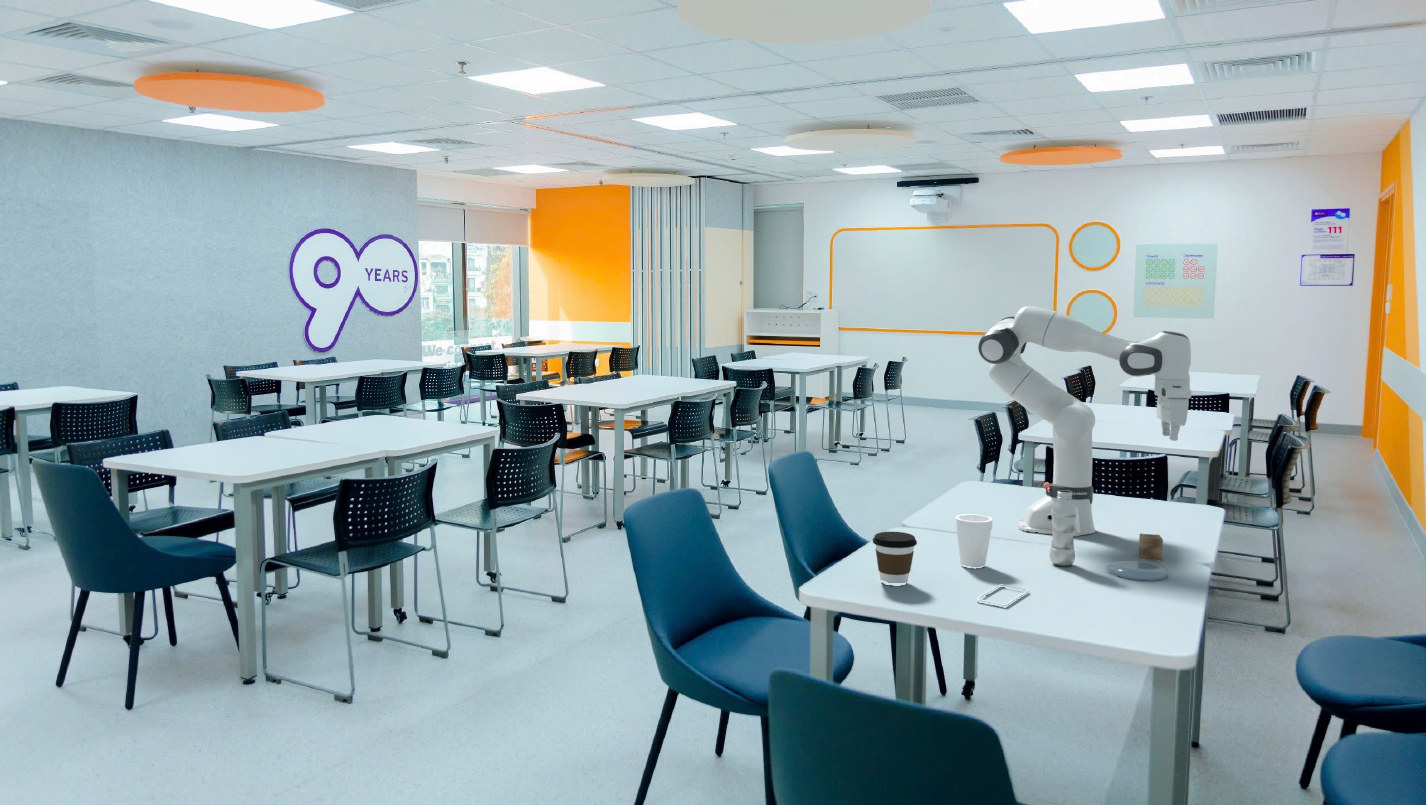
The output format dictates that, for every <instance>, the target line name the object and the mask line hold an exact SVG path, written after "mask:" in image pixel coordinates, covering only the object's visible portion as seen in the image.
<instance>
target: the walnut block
mask: <svg viewBox="0 0 1426 805" xmlns="http://www.w3.org/2000/svg"><path fill="white" fill-rule="evenodd" d="M1138 539H1139V540H1138V541H1139V542H1138V546H1139V547H1138V556H1139V557H1140V559H1141V560H1143V559H1145V560H1144V561H1158V560H1163V545H1164V544H1163V543H1164V539H1163V538H1162V536H1161V535H1160V534H1151V533H1149V534H1148V533H1139V538H1138Z"/></svg>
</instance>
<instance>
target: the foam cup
mask: <svg viewBox="0 0 1426 805" xmlns="http://www.w3.org/2000/svg"><path fill="white" fill-rule="evenodd" d="M955 528H956V534H957V535H956V536H957V543H958V551H959V552H958V555H959V563H960V565H961V564H962V565H966V566H971V567H981V566H984V565H985V566H986V563H987V559H988V558H987V556H988V551H989V545H990V540H991V539H990V538H991V532H992V529H993V518H992V517H991V516H987V515H985V514H984V515H983V514H977V513H976V514H974V513H973V514H972V513H964V514H958V515H956V516H955Z"/></svg>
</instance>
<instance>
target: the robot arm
mask: <svg viewBox="0 0 1426 805" xmlns="http://www.w3.org/2000/svg"><path fill="white" fill-rule="evenodd" d="M1028 343H1031V344H1035V345H1037V346H1038V345H1039V346H1041V347H1044V348H1047V349H1050V350H1053V351H1058V352H1064V353H1073V352H1084V353H1085V352H1087V353H1093V354H1097V355H1101V356H1103V357H1106V358H1108V359H1109V358H1110V359H1112V360H1115V361H1118V362H1119V366H1120V368H1121V369H1122V371H1123V372H1124V373H1125V374H1127V375H1129V376H1131V377H1137V378H1138V377H1146V376H1151V375H1154V395H1155V396H1157V402H1156V403H1157V404H1156V417H1157V418H1158V419H1159V420H1160V421H1161V424H1160V425H1161V434H1162V435H1161V436H1164V437H1169V440H1171V441H1174V442H1176V441H1178V439H1179V432H1180V427H1182V426H1183V427H1184V426H1186V424H1187V419H1188V413H1189V411H1188V410H1189V403H1190V402H1189V399H1191V398H1192V390H1191V388H1190V387H1191V385H1190V384H1191V383H1190V382H1191V376H1190V372H1189V371H1190V366H1191V363H1192V346H1191V341H1190V338H1189V337H1188V336H1187V335H1185V334H1184V333H1179V332H1176V331H1169V330H1168V331H1167V330H1163V331H1160V332H1158V333H1157V334H1156V335H1153V336H1152V337H1150V338H1148V339H1144V340H1141V341H1130V340H1125V339H1122V338H1119V337H1116V336H1113V335H1110V334H1106V333H1105V332H1104V333H1103V332H1101V331H1098V330H1096V329H1094V328H1092V327H1090V326H1088V325H1086V324H1085V323H1083V322H1081V321H1080V320H1077V319H1075V318H1073V317H1072V316H1070V315H1067V314H1064V313H1062V312H1059V311H1056V310H1052V309H1049V308H1044V307H1039V306H1033V305H1026V306H1023V307H1021V308H1020V309H1019V310H1018V311H1017V312H1016V314H1015V316H1013V315H1012V316H1008V317H1004V318H1002V319H1001V320H999V321H998V322H996V323H995V324H993V325H992V326H991V327H990V328H989V329H988V331H986V332H985V333H984V334H983V335H982V336H981V337H980V339H979V343H978V352H979V355H980V357H981V358H982V359H983V360H984V361H985V362H987V363H989V364H990V366H989V368H988V375H989V377H990V379H991V380H992V381H993V383H995V384H996V385H997V386H998V387H999V388H1000V389H1001V391H1003V392H1004V393H1005V394H1006V395H1008V396H1009V397H1010V398H1012V399H1013V400H1014V401H1016V402H1017V403H1018V404H1019V405H1021V406H1022V407H1024V408H1025V409H1027V411H1029V412H1030V413H1031V414H1033V415H1035V416H1037V417H1039V418H1040V419H1042V420H1043V421H1046V422H1047V423H1048V424H1050V425H1051V426H1052V445H1053V476H1052V477H1053V478H1052V483H1049V482H1048V481H1047V482H1044V483H1043V488H1044V489H1045V495H1044V496H1041V497H1040V498H1039V499H1037V500H1036V501H1034V502H1032V503H1031V504H1030V505H1029V506H1028V508H1027V510H1026V513H1025V518H1024V519H1023V518H1022V519H1020V520H1019V521H1018V522H1017V526H1019V527H1018V529H1019V530H1021V531H1023V530H1024V531H1023V532H1026V531H1029V532H1028V533H1035V532H1038V533H1037V534H1046V535H1053V523H1052V514H1051V510H1052V507H1053V505H1054V504H1055V503H1056V501H1057V500H1058V498H1057V492H1058V490H1067V491H1071V492H1072V499H1071V502H1072V503H1073V505H1074V506H1075V508H1076V511H1077V513H1076V519H1075V525H1074V531H1073V532H1074V535H1073V537H1079V536H1083V535H1090V534H1094V533H1095V532H1096V528H1095V525H1094V524H1095V523H1094V518H1093V511H1092V510H1093V508H1092V504H1093V501H1094V487H1093V485H1092V478H1093V429H1094V427H1095V424H1096V416H1095V413H1094V411H1093V410H1092V408H1091V407H1090V406H1088V405H1087V404H1085V403H1084V402H1083V401H1081V400H1080V399H1078V398H1077V397H1075V396H1073V395H1072V394H1071V393H1069V392H1067V391H1065V390H1064V389H1063V388H1061V387H1060V386H1058V385H1056V384H1055V383H1054V382H1052V381H1051V380H1049V379H1048V378H1047V377H1045V375H1042V374H1041V373H1040V372H1039V371H1037V370H1036V369H1034V368H1033V367H1031V365H1029V364H1027V363H1026V362H1025V361H1024V360H1023V359H1022V356H1021V354H1023V353H1025V349H1026V346H1027V344H1028Z"/></svg>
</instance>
